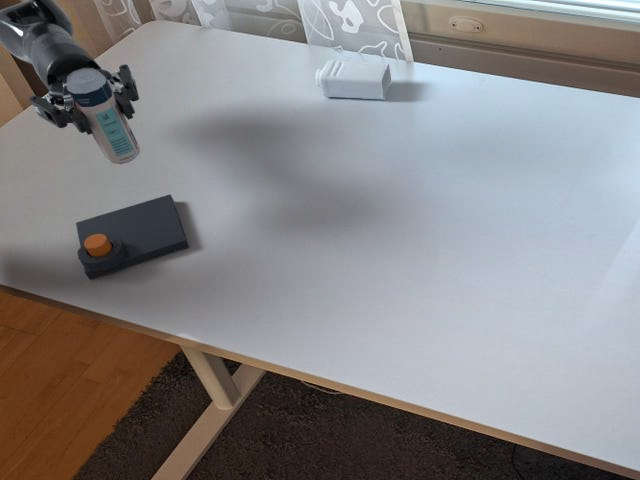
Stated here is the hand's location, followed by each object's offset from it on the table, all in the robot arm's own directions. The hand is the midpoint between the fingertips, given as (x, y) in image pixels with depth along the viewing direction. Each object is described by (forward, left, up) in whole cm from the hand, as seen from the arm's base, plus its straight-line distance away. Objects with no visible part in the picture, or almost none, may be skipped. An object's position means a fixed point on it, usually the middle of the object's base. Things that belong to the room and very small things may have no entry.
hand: (108, 119), depth 89 cm
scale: (-4, -2, -17) cm, 18 cm away
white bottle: (+39, +21, -18) cm, 47 cm away
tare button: (-8, -6, -15) cm, 18 cm away
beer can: (-1, +3, -7) cm, 8 cm away
